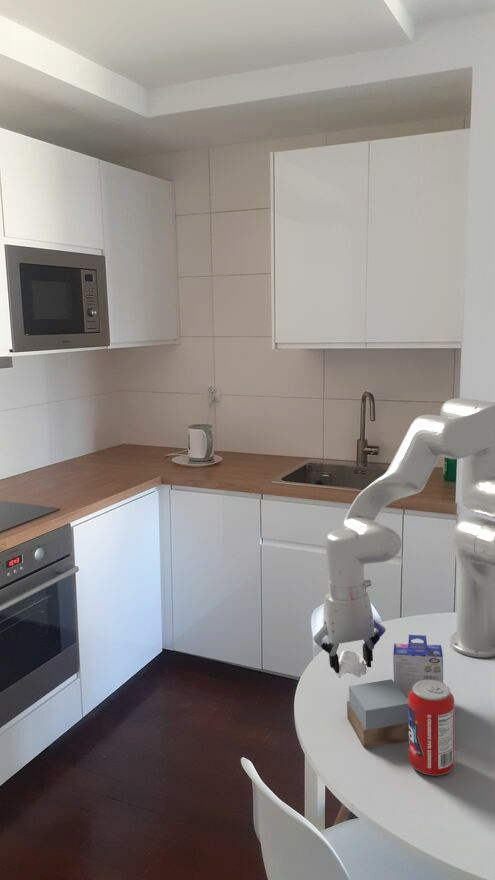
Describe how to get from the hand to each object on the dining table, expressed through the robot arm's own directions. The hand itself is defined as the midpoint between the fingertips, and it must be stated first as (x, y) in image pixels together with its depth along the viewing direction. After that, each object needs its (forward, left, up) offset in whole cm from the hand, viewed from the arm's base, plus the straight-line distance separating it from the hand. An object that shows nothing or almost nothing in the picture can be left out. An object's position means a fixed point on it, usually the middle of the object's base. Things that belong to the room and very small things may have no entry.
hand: (351, 666), depth 149 cm
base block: (-1, +14, -6) cm, 16 cm away
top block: (-1, +15, -2) cm, 15 cm away
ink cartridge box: (-12, +8, -6) cm, 15 cm away
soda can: (-6, +27, -6) cm, 28 cm away
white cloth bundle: (0, 0, -1) cm, 1 cm away
